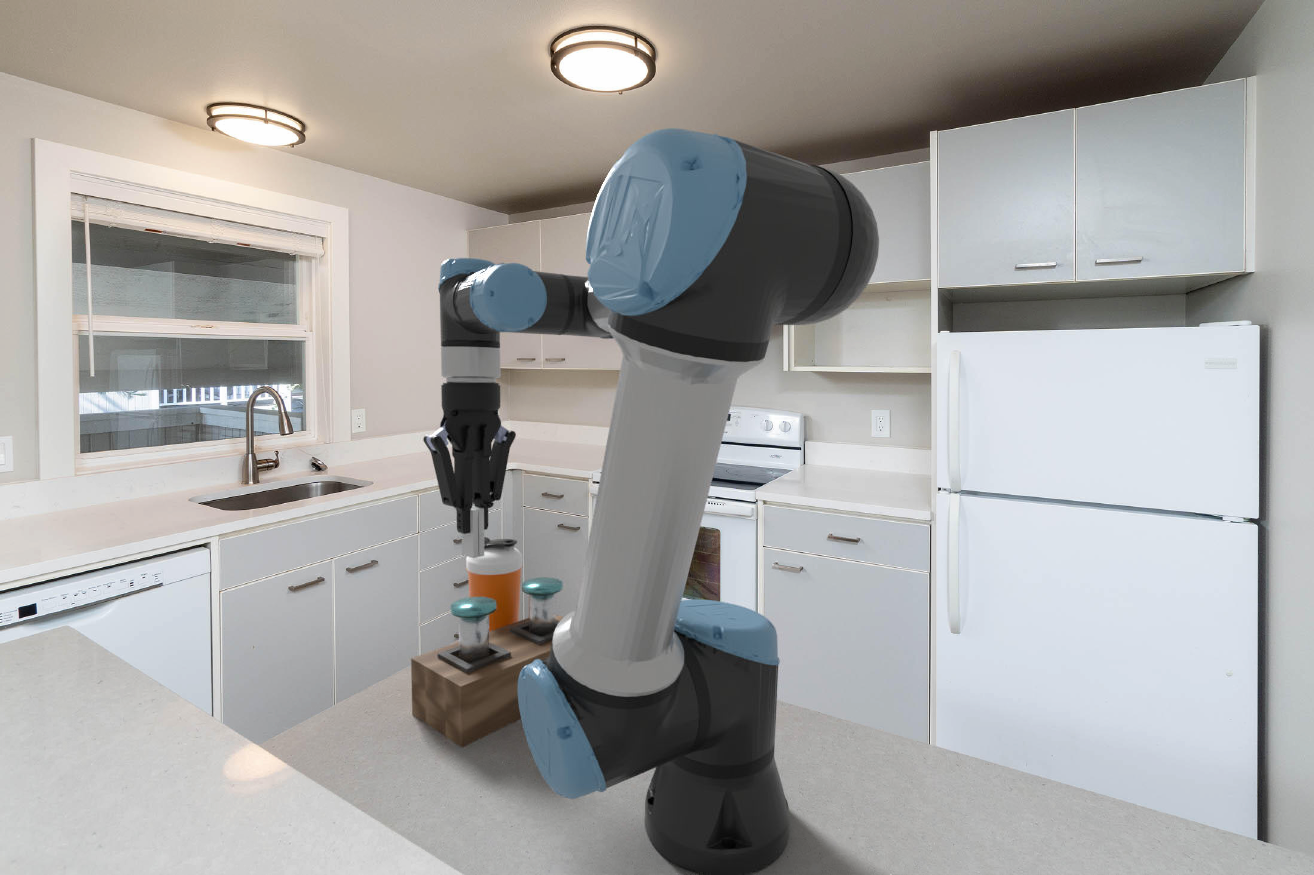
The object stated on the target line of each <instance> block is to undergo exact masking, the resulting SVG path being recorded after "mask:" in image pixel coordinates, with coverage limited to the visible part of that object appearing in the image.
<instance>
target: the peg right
mask: <svg viewBox="0 0 1314 875" xmlns="http://www.w3.org/2000/svg"><path fill="white" fill-rule="evenodd" d="M562 590H563V581H562V580H561V579H559V578H555V577H549V576H548V577H546V576H545V577H534V578H528V579H527V580H524V581H523V582H522V584H521V591H522V592H523V593H524V594H526V595H528V618H529V632H530V633H532V634H535V635H537V636H539V637H541V636H544V635H547V634H549V633H552V632H554V631H555V628H556V615H557V614H556V613H557V601H556V599H557V594H558V593H560V592H562Z"/></svg>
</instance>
